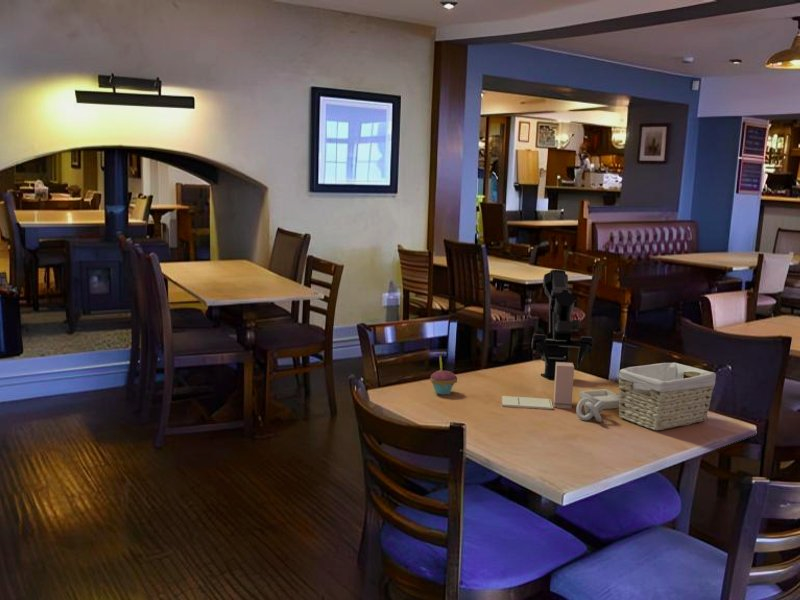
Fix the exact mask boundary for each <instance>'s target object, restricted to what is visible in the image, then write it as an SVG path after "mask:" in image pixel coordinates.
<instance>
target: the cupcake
mask: <svg viewBox="0 0 800 600" xmlns="http://www.w3.org/2000/svg"><path fill="white" fill-rule="evenodd" d="M442 360H443V359H442V356H441V355H439V370H436V371H435V372H433V373H431V375H430V382H431V384H432V386H433V388H434V391H435V392H434V393H435V394H437V395H443V396H444V395H449V394H451V392H452V389H453V386H454V385H455V384H456V383H457V382H458V377H457V375H456V374H455V373H453V372H452V371H449V370H443V361H442Z"/></svg>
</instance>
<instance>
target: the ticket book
mask: <svg viewBox="0 0 800 600" xmlns="http://www.w3.org/2000/svg"><path fill="white" fill-rule="evenodd" d="M501 407H506V408H507V407H509V408H522V409H523V408H525V409H535V408H537V409H538V410H539V409H540V410H551V409H553V410H554V404H553V403H552V399H551V398H539V397H526V396H525V397H524V396H523V397H522V396H511V395H510V396H508V395H501ZM537 409H536V410H537Z"/></svg>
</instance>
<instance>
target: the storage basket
mask: <svg viewBox="0 0 800 600" xmlns="http://www.w3.org/2000/svg"><path fill="white" fill-rule="evenodd" d="M685 376H687V377H685ZM684 377H685V378H684ZM716 378H717V373H715V372H713V371H709V370H705V369H702V368H698V367H695V366H690V365H685V364H681V363H678V362H660V363H652V364H645V365H637V366H628V367H625V368H622V369H619V372H618V388H619V394H618V395H619V408H618V416H619V417H620V418H621V419H624V420H626V421H629V422H631V423H633V424H637V425H639V426H642V427H645V428H646V429H650V430H653V431H663V430H667V429H673V428H676V427H683V426H689V425H691V424H696V423H701V422H705V421H706V420H707V417H708V412H709V410H710V405H711V400H712V395H713V392H714V391H713V390H714V388H715V384H716Z"/></svg>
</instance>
